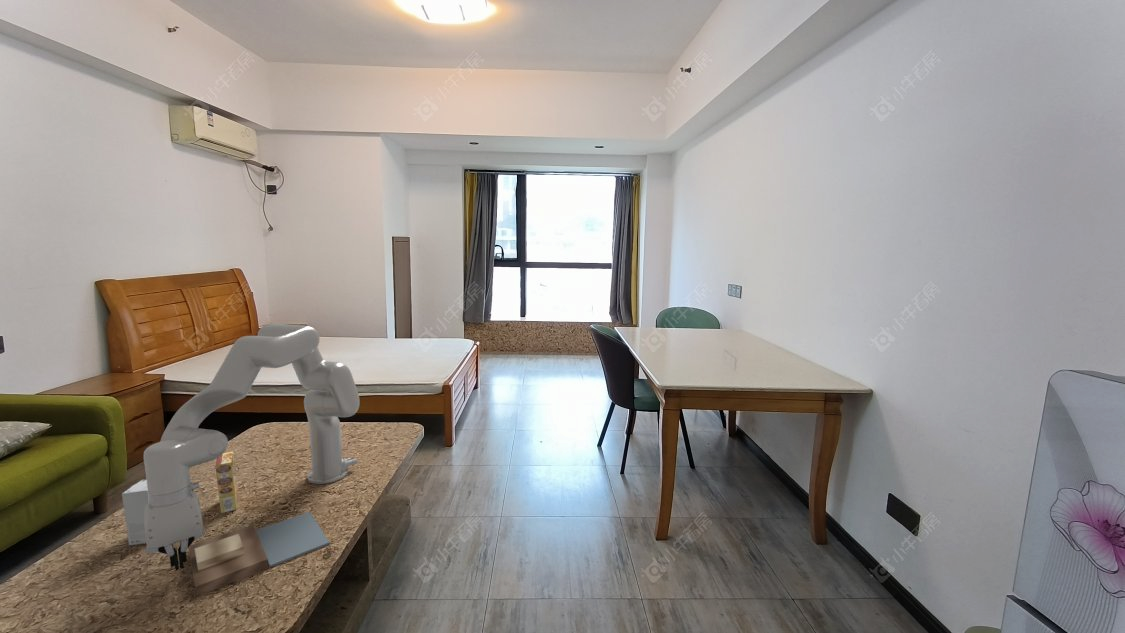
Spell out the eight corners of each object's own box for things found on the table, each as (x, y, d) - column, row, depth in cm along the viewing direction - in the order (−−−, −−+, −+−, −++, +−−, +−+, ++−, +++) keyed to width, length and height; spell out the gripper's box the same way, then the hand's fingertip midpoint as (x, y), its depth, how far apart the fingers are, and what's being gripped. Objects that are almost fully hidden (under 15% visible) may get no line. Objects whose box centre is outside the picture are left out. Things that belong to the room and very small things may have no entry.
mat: (310, 513, 136) (309, 511, 136) (329, 544, 122) (329, 542, 122) (255, 532, 127) (255, 530, 127) (270, 567, 113) (269, 565, 113)
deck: (254, 532, 126) (253, 524, 126) (268, 568, 113) (267, 559, 112) (189, 554, 117) (188, 545, 117) (196, 596, 103) (195, 586, 103)
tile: (239, 540, 119) (238, 533, 119) (244, 554, 114) (243, 546, 114) (195, 555, 113) (194, 548, 113) (198, 570, 108) (197, 563, 108)
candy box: (237, 509, 137) (232, 461, 135) (219, 514, 135) (214, 465, 133) (238, 496, 145) (234, 450, 142) (221, 500, 142) (217, 453, 140)
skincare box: (153, 543, 121) (147, 491, 119) (127, 546, 120) (119, 493, 118) (172, 525, 129) (167, 475, 127) (147, 527, 128) (141, 477, 126)
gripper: (209, 477, 113) (216, 545, 116) (126, 499, 103) (136, 572, 106) (213, 489, 108) (220, 560, 111) (125, 513, 98) (136, 590, 101)
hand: (179, 566), depth 108 cm, fingers closed
